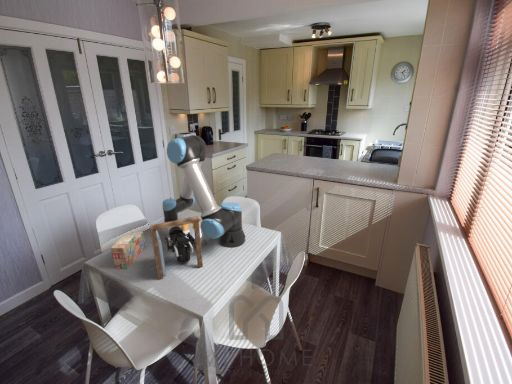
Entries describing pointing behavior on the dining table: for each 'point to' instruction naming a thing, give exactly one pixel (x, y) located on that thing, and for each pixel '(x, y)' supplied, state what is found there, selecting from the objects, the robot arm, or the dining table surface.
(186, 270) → the dining table surface
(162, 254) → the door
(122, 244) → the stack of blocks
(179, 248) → the supplement bottle
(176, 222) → the door frame
